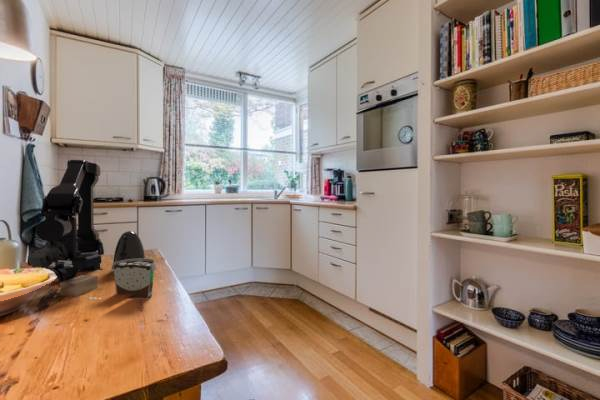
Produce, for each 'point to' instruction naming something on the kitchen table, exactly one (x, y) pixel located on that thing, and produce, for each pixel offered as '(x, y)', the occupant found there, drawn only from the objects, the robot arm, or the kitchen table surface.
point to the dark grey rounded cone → (129, 247)
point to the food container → (134, 277)
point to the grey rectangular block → (78, 285)
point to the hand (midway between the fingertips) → (66, 289)
